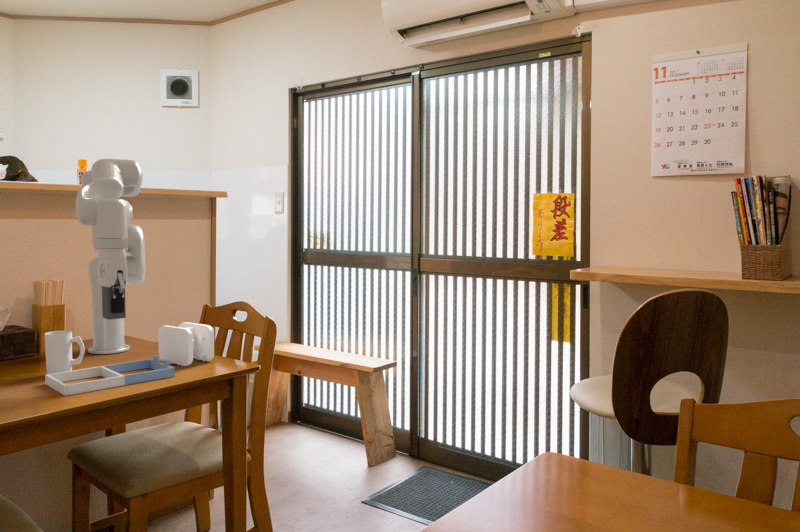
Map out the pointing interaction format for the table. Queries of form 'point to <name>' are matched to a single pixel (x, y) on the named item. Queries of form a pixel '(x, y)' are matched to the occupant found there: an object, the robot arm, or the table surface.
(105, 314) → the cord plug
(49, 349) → the mug
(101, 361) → the table surface
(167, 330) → the cable organizer
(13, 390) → the table surface
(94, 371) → the shallow tray
